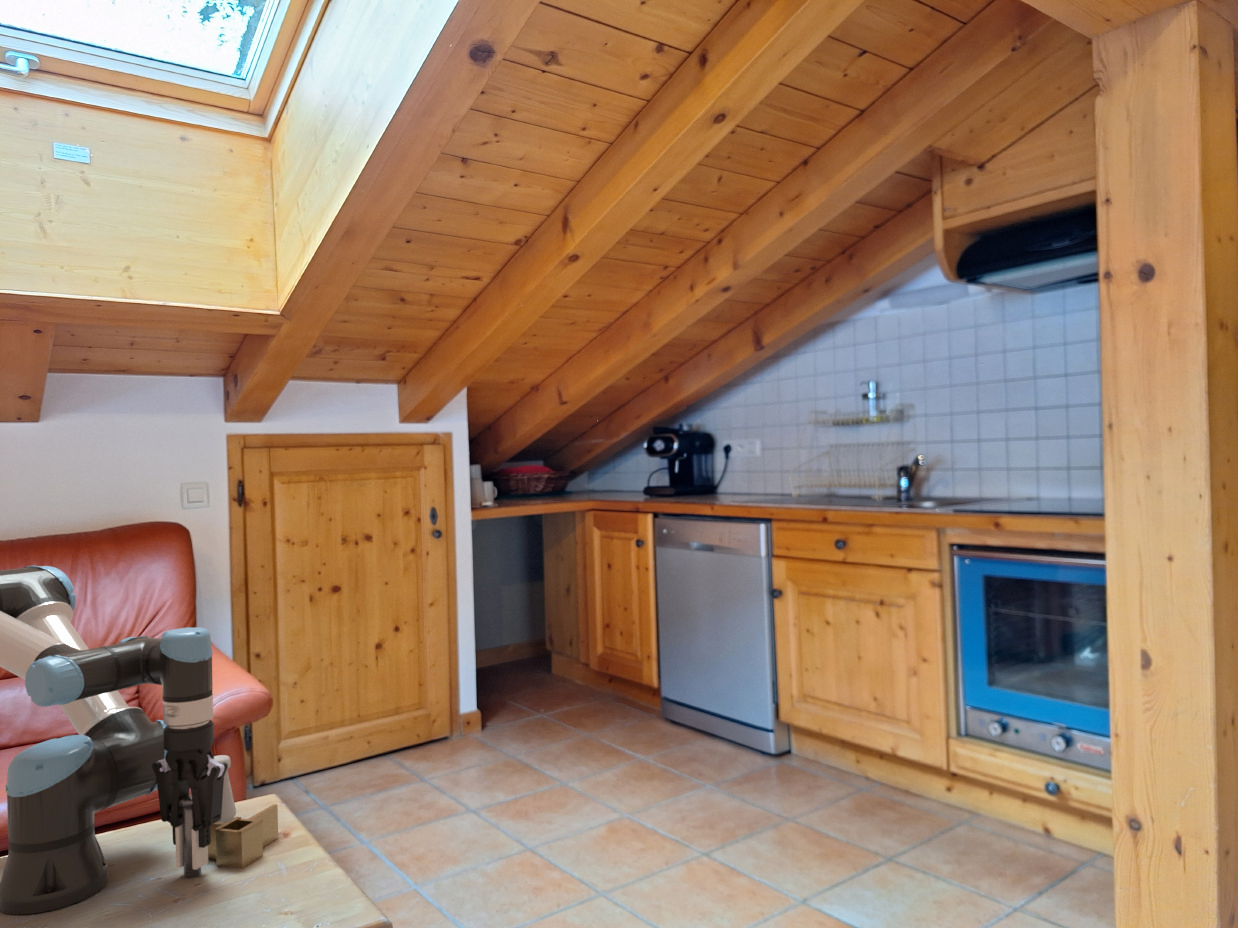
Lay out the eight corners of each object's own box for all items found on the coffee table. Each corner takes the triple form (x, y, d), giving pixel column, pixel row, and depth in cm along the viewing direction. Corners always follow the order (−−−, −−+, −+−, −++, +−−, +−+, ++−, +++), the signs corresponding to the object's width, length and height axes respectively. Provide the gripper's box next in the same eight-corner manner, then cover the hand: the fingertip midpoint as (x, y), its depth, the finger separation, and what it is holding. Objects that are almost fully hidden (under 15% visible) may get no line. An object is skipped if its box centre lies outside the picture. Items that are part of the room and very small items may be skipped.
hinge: (182, 861, 152) (181, 825, 152) (232, 832, 163) (231, 799, 163) (242, 868, 148) (241, 831, 148) (289, 838, 160) (288, 804, 160)
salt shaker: (196, 831, 165) (194, 761, 165) (215, 819, 170) (213, 751, 170) (224, 832, 164) (222, 762, 164) (242, 820, 169) (241, 752, 169)
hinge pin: (175, 878, 145) (173, 800, 145) (191, 868, 149) (189, 792, 149) (193, 880, 144) (191, 802, 144) (209, 870, 148) (207, 794, 148)
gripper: (132, 726, 145) (136, 870, 145) (211, 731, 141) (215, 879, 141) (167, 714, 152) (171, 850, 152) (243, 718, 148) (247, 859, 148)
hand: (192, 864), depth 146 cm, fingers closed on hinge pin, 2 cm apart
